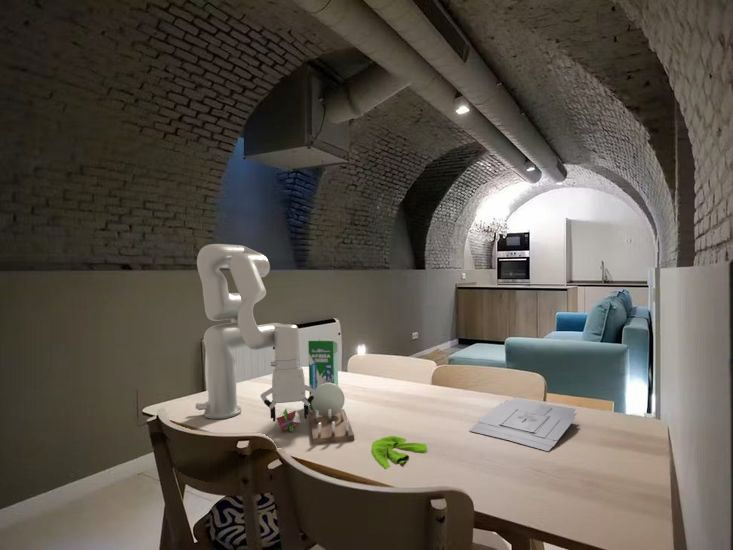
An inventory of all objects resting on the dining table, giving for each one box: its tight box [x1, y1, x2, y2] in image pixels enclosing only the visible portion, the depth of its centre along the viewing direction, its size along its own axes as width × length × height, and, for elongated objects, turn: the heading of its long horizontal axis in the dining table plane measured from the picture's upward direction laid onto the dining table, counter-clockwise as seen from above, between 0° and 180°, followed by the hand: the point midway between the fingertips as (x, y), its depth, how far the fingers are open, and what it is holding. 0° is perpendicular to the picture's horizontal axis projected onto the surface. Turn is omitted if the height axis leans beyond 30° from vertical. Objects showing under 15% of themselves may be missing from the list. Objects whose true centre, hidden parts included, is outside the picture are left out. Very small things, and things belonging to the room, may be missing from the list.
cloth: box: [371, 435, 428, 470], centre depth 118 cm, size 20×22×2 cm
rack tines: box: [313, 408, 349, 437], centre depth 139 cm, size 9×24×4 cm, turn 10°
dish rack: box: [308, 410, 355, 445], centre depth 139 cm, size 12×25×2 cm, turn 10°
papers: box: [468, 397, 578, 452], centre depth 136 cm, size 24×30×4 cm
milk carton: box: [308, 337, 339, 411], centre depth 160 cm, size 9×9×25 cm
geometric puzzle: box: [276, 408, 302, 433], centre depth 136 cm, size 7×7×8 cm
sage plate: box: [311, 383, 345, 417], centre depth 144 cm, size 11×1×11 cm, turn 100°
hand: (290, 418), depth 136 cm, fingers open, 9 cm apart
